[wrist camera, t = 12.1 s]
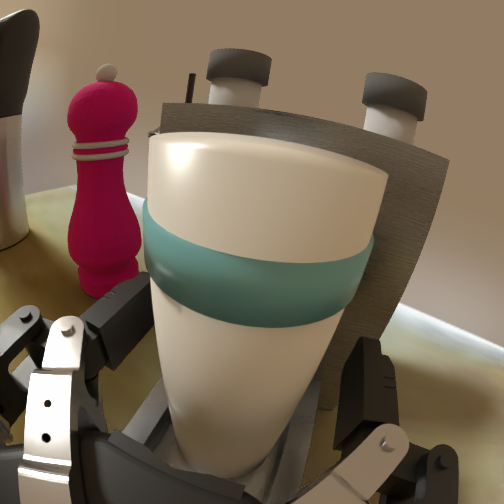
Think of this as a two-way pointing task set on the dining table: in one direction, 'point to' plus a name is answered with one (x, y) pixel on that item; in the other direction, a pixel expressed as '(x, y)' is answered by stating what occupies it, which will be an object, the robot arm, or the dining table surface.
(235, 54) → the plunger
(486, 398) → the dining table surface
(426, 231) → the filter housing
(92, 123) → the pepper mill
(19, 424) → the dining table surface
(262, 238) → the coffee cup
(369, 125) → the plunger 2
